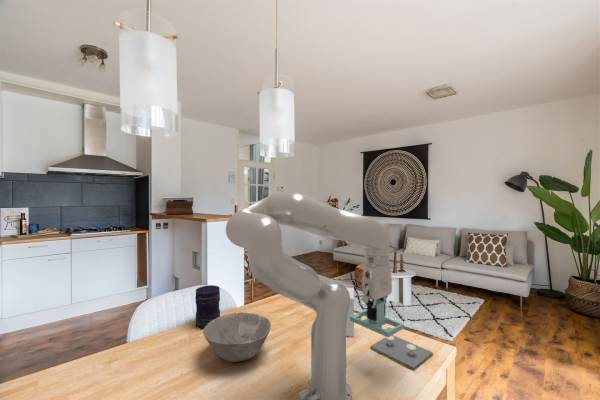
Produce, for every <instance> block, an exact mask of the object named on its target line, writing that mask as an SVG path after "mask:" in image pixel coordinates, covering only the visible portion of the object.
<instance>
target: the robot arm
mask: <svg viewBox="0 0 600 400" xmlns="http://www.w3.org/2000/svg"><path fill="white" fill-rule="evenodd" d="M280 225H283V226H287V227H291V228H294V229H298V230H301V231H304V232H308V233H311V234H314V235H317V236H321V237H323V238H326V239H332V240H337V241H344V242H345V243H346V244H348V245H350V246H354V247H359V248H364V267H363V274H362V284H361V285H362V286H361V287H362V289H361V291H362V296H361V298H360V299H361V301H362V302H364V303H365V306H366V307H367V308H366V310H367V315H366V319H367V318H368V319H371V320H373V321H376V320H377V308H375V306H376V300H377V299H379V300H382V301H384V317H386V304H387V299H388V296H390V295H391V294H392V291H393V283H392V282H393V280H392V279H393V278H392V270H391V269H392V267H391V265H390V264H391V263H390V225H389V223H388V222H387V221H382V220H375V219H373V218H369V217H367V216H364V215H361V214H357V213H353V212H351V211H348V210H345V209H341V208H337V207H334V206H332V205H329V204H327V203H325V202H322V201H319V200H318V199H315V198H313V197H311V196H308V195H305V194H303V193H300V192H295V191H294V192H275V193H273V194H270V195H268V196H266V197H264V198H262V199H260V200H258V201H255V202H254V203H253V204H250V205H248V206H245V208H243V209H240V210H238V211H237V212H235V213H234V214H233V215H231V216H230V218H228V221H227V223H226V224H225V234H226V237H227V239H228V240H229V241H230V243H231V244H233V245H235V246H237V247H239V248H243V249H245V250H247V252H248V265H249V267H250V271H251V274H252V275H253V277H254V278H255V279H256V280H257V281H258V282H260V283H261V284H263V285H265V286H267V287H269V289H271V290H272V291H273V292H275V293H277V294H279V295H281V296H283V297H284V298H287V299H289V300H291V301H295V302H296V303H299V304H300V305H303V306H304V307H307V308H308V309H310V310H312V311H314V312H315V313H316V315H315V319H314V320H313V322H312V325H311V328H310V379H308V380H307V381H308V383H307V384H306V386H305V389H303V390H301V391H299V392H298V393H297V395H296V396H297V399H298V400H352V399H353V392H352V389H351V386H350V385H349V384H348V383H347V336H346V321H347V314H348V309H349V304H350V294H349V292H348V290H347V288H346V287H345V286H344V285H345V284H344V285H343V283H342V282H340V281H338V280H336V279H332V278H330V277H327V276H323V275H320V274H318V273H317V272H316V271H315V270H314V268H312V267H310V265H308V264H305V263H304V262H300V261H299V260H297V259H295V258H293V257H291V256H290V255H288V254H287V253H286V252H285V251H284V249H283V236H282V230H281V226H280ZM371 300H372V302H371Z"/></svg>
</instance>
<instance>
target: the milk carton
mask: <svg viewBox="0 0 600 400" xmlns="http://www.w3.org/2000/svg"><path fill="white" fill-rule="evenodd" d="M342 284H343V283H342ZM343 285H344V286H345V287H346V288H347V290H348V292H349V294H350V304H349V309H348V314H347V321H346V337H349V338H350V337H352V338H354V336H355V333H354V332H355V323H354V322H352V321H350V316H353V315H355V285H354V284H343Z"/></svg>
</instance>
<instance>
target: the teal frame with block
mask: <svg viewBox="0 0 600 400" xmlns="http://www.w3.org/2000/svg"><path fill="white" fill-rule="evenodd" d="M370 300H371V302H372V300H373V299H370ZM375 308H377V320H376V321H373V320H371V319H368V318H367V317H366V316H367V309H365V310H363V311H359V312H357V313H356V314H355V313H354V315H353V316H350V321H352V322H354V324H356V325H359V326H361V327H363V328H365V329H368V330H371V332H374V333H376V334H380V335H381V336H384V337H390V336H392V335H395V334H397V333H398V332H401V331H403V330H404V329H405V328H404V325H405V324H404V323H402V322H399V321H397V320H393V319H391V318H388V317H387V316H384V301H382V300H379V299H377V300H376V306H375ZM364 316H365V317H366V318H364V319H362V317H364ZM386 324H388V325H391V326H392V327H391V326H389V327H386V328H385V329H384V328H383V326H384V325H386Z"/></svg>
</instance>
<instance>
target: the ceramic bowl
mask: <svg viewBox="0 0 600 400" xmlns="http://www.w3.org/2000/svg"><path fill="white" fill-rule="evenodd" d="M271 327H272V326H271V322H270V320H269V318H267V317H265V316H263V315H260V314H257V313H250V312H249V313H248V312H237V313H236V312H234V313H229V314H223V315H220V317H218V318H216V319H214V320H212V321H211V322H209V323H208V324H207V326H205V328H204V330H202V333H203V336H204V338H205V340H206V341H207V343H208V345H209V347H211V349H212V351H214V353H215V354H216V355H218V357H220V358H221V359H223V360H224V361H225V362H229V363H237V362H243V361H248V360H250V359H252V358H254V357H255V356H256V355H257V354H258V353H259V352H260V350H261V349H262V347H263V345H264V344H265V341H266V340H267V338H268V335H269V333H270V331H271Z"/></svg>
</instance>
